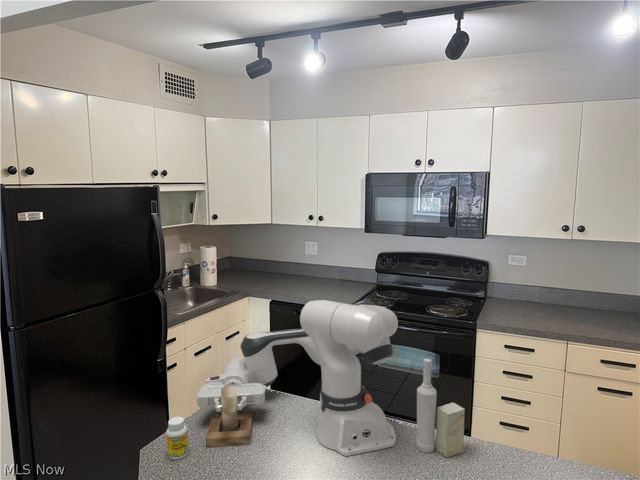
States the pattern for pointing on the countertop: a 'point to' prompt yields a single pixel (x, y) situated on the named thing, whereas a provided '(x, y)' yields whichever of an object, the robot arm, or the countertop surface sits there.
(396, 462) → the countertop surface
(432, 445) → the bottle
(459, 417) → the skincare box
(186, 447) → the supplement bottle
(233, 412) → the dowel
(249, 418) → the socket block
